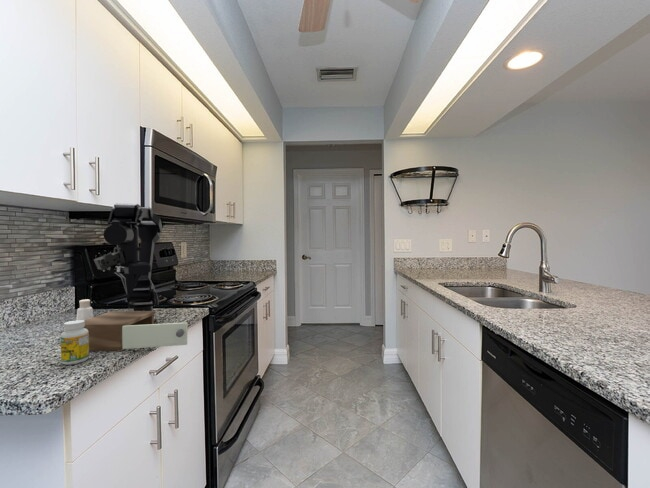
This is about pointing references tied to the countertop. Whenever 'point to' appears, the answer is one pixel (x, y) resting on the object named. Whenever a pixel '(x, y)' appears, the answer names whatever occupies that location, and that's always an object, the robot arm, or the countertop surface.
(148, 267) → the robot arm
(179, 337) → the side door
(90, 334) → the cabinet
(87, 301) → the salt shaker
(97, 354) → the countertop surface
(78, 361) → the supplement bottle
